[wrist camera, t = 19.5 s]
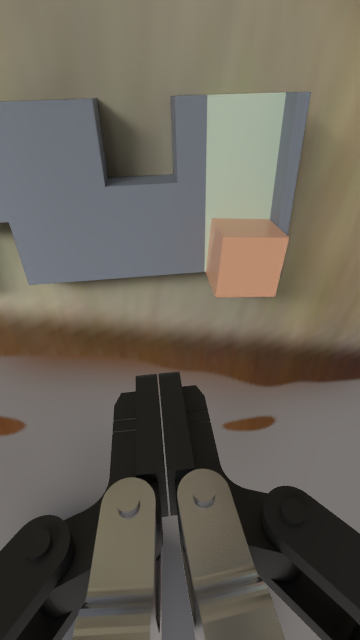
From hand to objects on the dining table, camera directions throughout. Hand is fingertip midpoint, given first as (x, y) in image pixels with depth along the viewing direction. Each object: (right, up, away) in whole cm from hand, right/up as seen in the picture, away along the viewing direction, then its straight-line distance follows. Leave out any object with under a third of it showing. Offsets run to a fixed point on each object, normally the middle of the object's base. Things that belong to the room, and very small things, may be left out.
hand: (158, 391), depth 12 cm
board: (-8, +12, +14) cm, 20 cm away
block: (+5, +8, +15) cm, 18 cm away
